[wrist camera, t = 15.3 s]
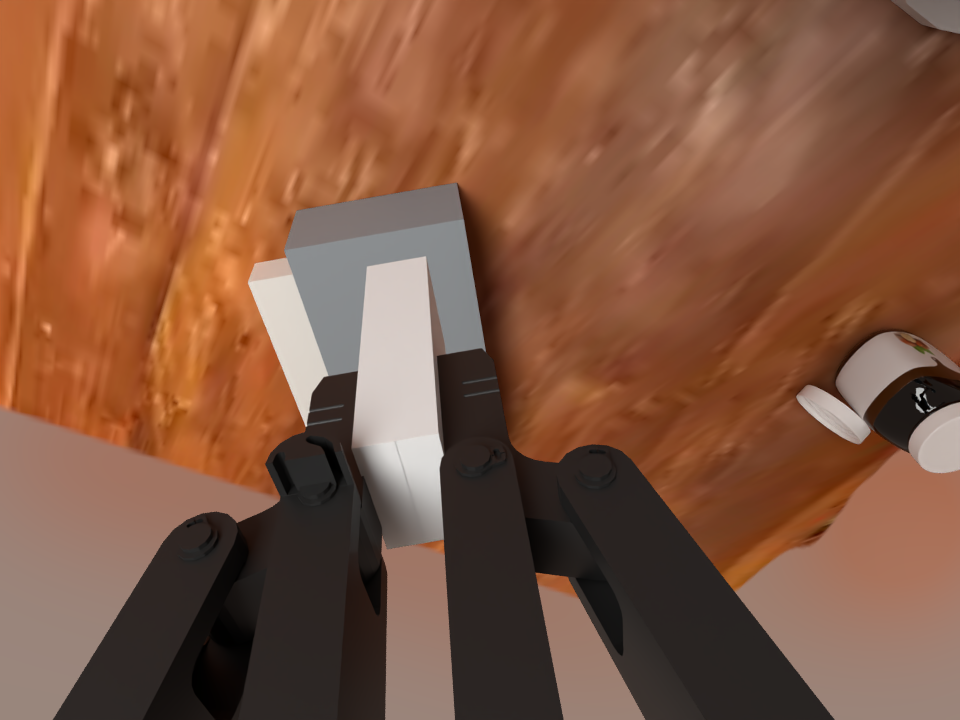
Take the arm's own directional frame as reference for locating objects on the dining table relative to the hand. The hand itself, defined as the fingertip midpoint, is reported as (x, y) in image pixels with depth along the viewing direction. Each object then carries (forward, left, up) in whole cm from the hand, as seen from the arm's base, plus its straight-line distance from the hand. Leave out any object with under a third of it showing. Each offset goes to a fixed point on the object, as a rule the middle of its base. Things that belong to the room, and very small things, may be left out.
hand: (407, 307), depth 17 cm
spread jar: (+35, +37, -33) cm, 61 cm away
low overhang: (+21, -4, -32) cm, 39 cm away
